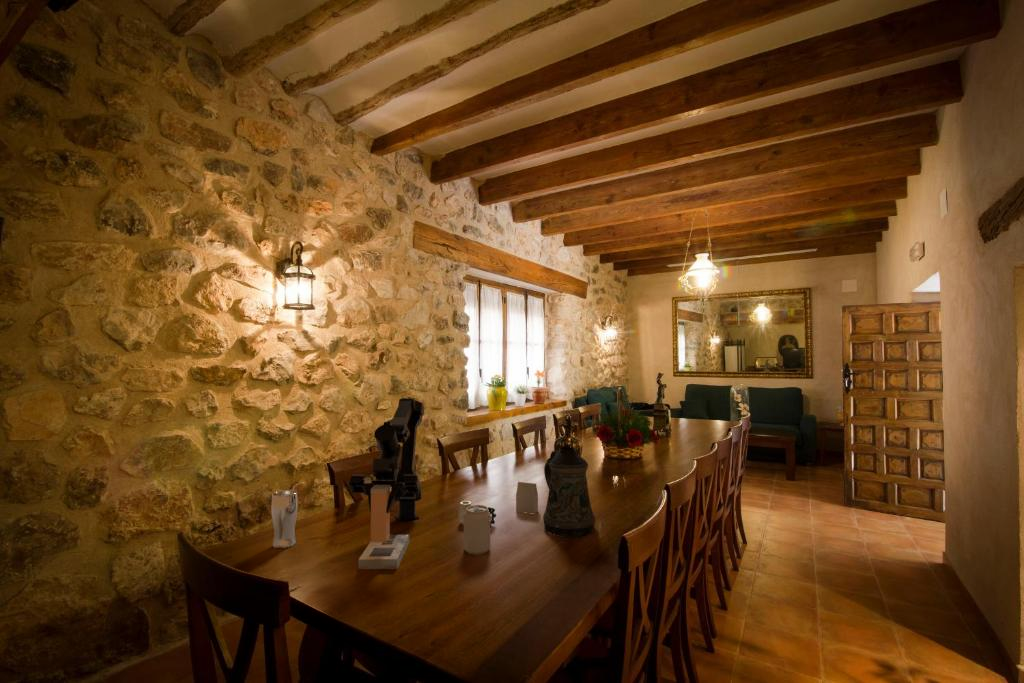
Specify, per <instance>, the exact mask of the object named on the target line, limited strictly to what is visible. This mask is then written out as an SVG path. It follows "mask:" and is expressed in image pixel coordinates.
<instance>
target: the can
mask: <svg viewBox="0 0 1024 683" xmlns="http://www.w3.org/2000/svg"><path fill="white" fill-rule="evenodd" d="M466 510H467V511H466V512H465V513H464V524H463V549H464V550H465V551H466V552H467V554H470V555H473V554H474V555H475V556H476V555H478V556H479V555H483V554H486V553H487V552H488V551H489V550H490V549H491V528H490V521H491V520H490V515H491V514H490V512H489V510H488V506H487V505H484V504H483V505H482V504H471V506H469V507H467V508H466Z"/></svg>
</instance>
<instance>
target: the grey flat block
mask: <svg viewBox="0 0 1024 683" xmlns="http://www.w3.org/2000/svg"><path fill="white" fill-rule="evenodd" d="M409 544H410V534H390V537H389V538H388V540H387V541H386V542H371V541H370V542H369V544H368V545H367V546H366V548H365V549H364V550H363V552H362V553H361V555H360V556H359V558H358V561H357V562H358V567H357V568H358V570H396V569H398V568H399V567H400V564H401V562H402V560H403V557H404V556H403V555H405V553H406V551H407V549H408V547H409Z"/></svg>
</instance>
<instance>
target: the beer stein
mask: <svg viewBox="0 0 1024 683" xmlns="http://www.w3.org/2000/svg"><path fill="white" fill-rule="evenodd" d="M588 467H589V463H588V461H586V459H585V458H583V457H582V456H581V455H580V454H578V453H577V452H576V450H575V448H573V447H567V446H565V447H564V446H563V447H560V449H559V450H552V451H551V453H550V456H549V458H547V460H546V462H545V464H544V467H543V472H544V478H545V482H546V485H547V487H548V496H547V501H546V506H545V510H544V513H543V516H542V521H543V525H544V526H543V528H544V529H546V530H547V531H548V532H550V533H552V534H551V535H553V534H555V535H559V536H558V537H560V536H563V537H562V538H568V537H576V538H582V537H583V536H584V537H586V536H589V535H592V534H593V532H594V529H595V524H596V517H595V514H594V512H593V510H592V504H591V499H590V494H589V493H590V492H589V486H588V480H587V471H588ZM546 530H545V531H546ZM547 531H546V532H547ZM548 532H547V533H548ZM550 533H549V534H550ZM555 535H554V536H555ZM584 537H583V538H584Z"/></svg>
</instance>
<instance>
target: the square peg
mask: <svg viewBox="0 0 1024 683" xmlns="http://www.w3.org/2000/svg"><path fill="white" fill-rule="evenodd" d="M390 494H391V487H390V485H374V486H373V487H372V488H371V513H370V542H386V541H387V540H388V538H389V537H390V535H391V533H390V532H391V531H390V530H391V525H390V523H391V520H390V519H391V518H390V516H391V515H390V514H391V513H390V512H391V511H390V512H389V513H387V512H386V511H387V505H388V501H389V497H390Z"/></svg>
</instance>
